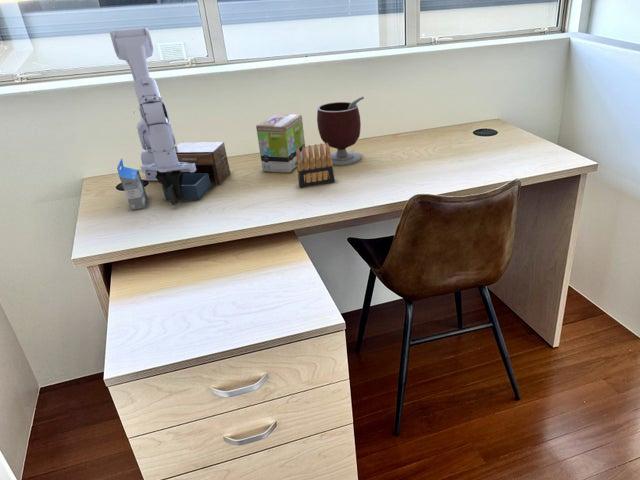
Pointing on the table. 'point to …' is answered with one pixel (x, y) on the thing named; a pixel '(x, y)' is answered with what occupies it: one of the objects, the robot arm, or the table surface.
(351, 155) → the mate gourd
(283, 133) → the tea box
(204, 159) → the drawer pedestal
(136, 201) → the label tape box
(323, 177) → the ammunition clip
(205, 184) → the storage box
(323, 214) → the table surface
